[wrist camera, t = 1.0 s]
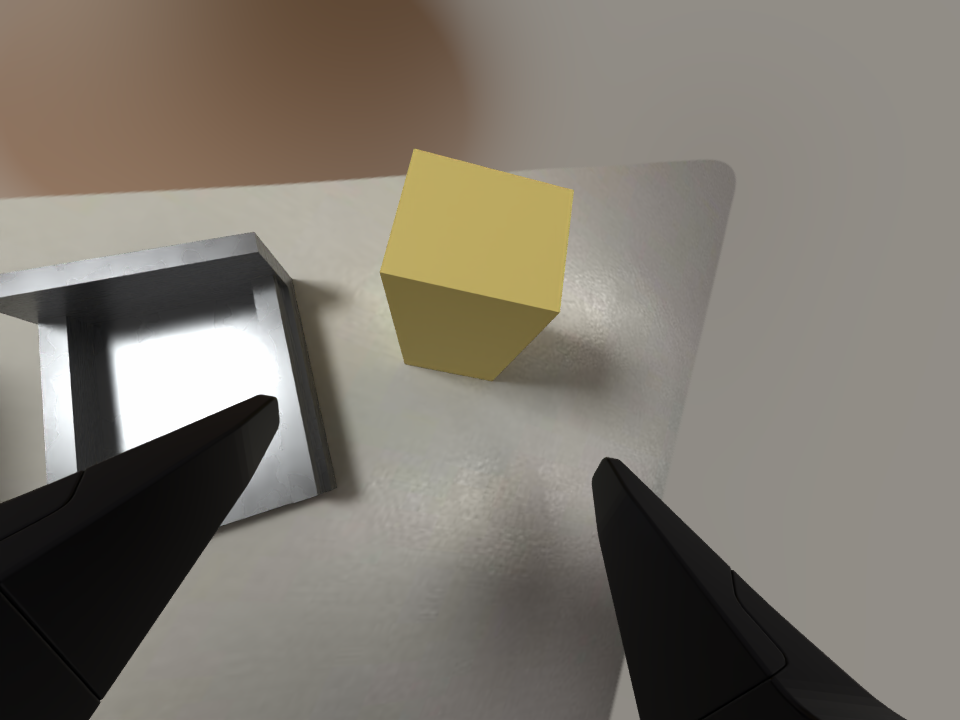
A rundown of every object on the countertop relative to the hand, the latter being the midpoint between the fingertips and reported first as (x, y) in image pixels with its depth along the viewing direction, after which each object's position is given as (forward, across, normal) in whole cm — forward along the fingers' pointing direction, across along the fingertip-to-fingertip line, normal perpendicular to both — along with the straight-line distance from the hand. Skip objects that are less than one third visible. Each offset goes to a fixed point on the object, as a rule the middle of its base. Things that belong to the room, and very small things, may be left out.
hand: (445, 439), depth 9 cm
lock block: (+14, 0, +4) cm, 15 cm away
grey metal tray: (+9, +14, +9) cm, 19 cm away
